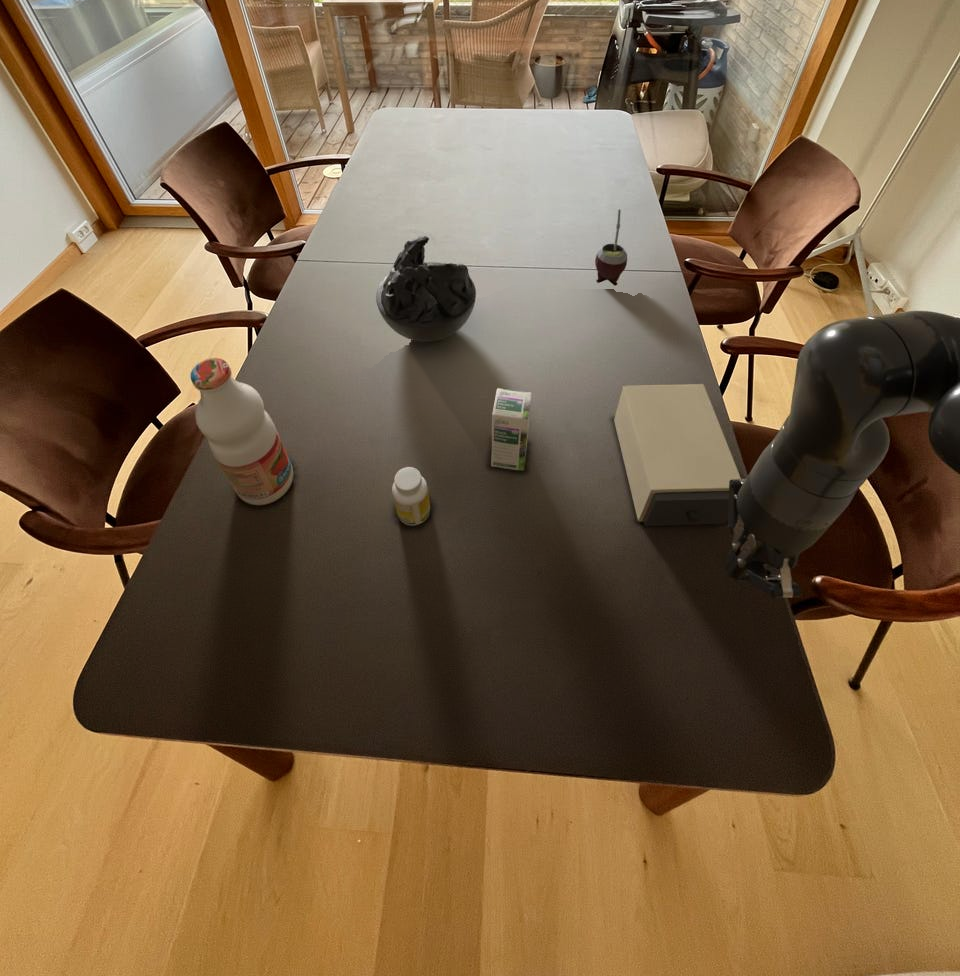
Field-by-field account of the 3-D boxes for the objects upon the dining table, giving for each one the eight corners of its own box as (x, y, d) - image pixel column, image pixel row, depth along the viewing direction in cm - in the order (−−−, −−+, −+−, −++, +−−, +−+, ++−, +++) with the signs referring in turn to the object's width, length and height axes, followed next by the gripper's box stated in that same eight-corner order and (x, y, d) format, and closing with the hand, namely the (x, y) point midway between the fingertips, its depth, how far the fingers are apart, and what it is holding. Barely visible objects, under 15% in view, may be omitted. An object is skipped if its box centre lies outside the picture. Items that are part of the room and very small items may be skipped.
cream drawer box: (724, 519, 90) (744, 487, 83) (638, 521, 90) (651, 490, 83) (688, 418, 104) (703, 383, 97) (613, 420, 104) (623, 385, 97)
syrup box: (490, 467, 97) (491, 415, 87) (495, 438, 101) (496, 386, 91) (523, 472, 96) (528, 420, 86) (527, 443, 100) (532, 390, 90)
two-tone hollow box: (727, 531, 88) (744, 506, 82) (646, 533, 88) (657, 508, 82) (690, 426, 102) (702, 398, 96) (620, 427, 102) (628, 400, 96)
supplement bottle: (425, 491, 94) (421, 458, 87) (434, 520, 90) (430, 488, 83) (393, 500, 93) (386, 468, 86) (401, 530, 89) (394, 499, 82)
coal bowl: (453, 374, 112) (449, 302, 99) (364, 346, 117) (349, 275, 104) (490, 310, 125) (491, 239, 112) (408, 288, 130) (400, 218, 117)
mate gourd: (605, 291, 129) (616, 236, 119) (584, 272, 134) (592, 218, 124) (630, 280, 132) (643, 226, 121) (608, 262, 137) (619, 208, 126)
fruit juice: (231, 471, 97) (166, 359, 77) (286, 449, 100) (238, 336, 80) (243, 516, 91) (176, 408, 71) (301, 491, 94) (252, 381, 74)
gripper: (874, 561, 46) (793, 634, 58) (805, 428, 56) (747, 515, 68) (783, 563, 46) (720, 636, 58) (728, 429, 56) (684, 516, 68)
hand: (735, 571), depth 63 cm, fingers closed
